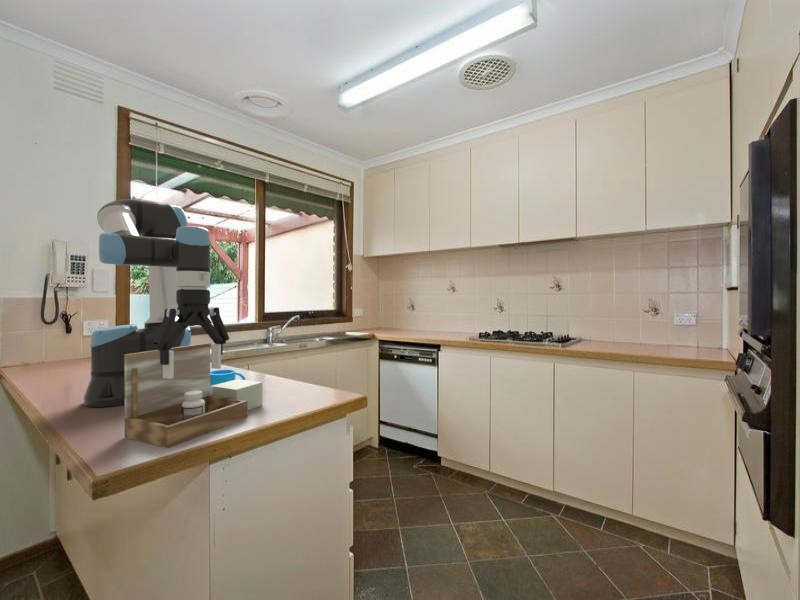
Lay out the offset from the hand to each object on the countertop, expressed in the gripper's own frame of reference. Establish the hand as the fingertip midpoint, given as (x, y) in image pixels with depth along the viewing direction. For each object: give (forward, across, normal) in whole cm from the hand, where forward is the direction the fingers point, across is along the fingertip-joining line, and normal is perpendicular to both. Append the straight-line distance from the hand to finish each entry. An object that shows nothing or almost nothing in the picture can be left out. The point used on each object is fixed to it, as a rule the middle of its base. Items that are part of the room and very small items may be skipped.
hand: (193, 373), depth 97 cm
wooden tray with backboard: (+14, 0, +1) cm, 14 cm away
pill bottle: (+14, 0, 0) cm, 14 cm away
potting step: (+14, +17, +3) cm, 22 cm away
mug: (+14, +26, +16) cm, 33 cm away
